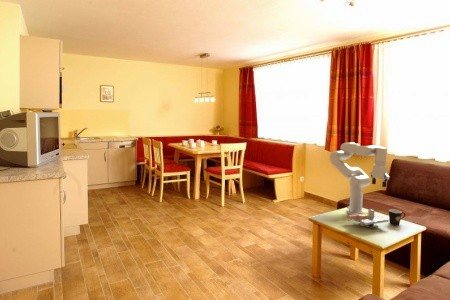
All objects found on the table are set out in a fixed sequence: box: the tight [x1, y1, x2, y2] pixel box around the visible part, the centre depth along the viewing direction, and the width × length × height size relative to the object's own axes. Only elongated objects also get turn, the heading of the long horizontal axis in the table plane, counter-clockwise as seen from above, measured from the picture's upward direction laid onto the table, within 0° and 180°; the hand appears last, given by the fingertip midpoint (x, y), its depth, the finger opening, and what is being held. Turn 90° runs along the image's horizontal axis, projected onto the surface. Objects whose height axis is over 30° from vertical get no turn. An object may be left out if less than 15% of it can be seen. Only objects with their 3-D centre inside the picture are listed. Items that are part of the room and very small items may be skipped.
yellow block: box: [359, 214, 369, 227], centre depth 219 cm, size 3×7×8 cm, turn 109°
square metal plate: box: [346, 208, 389, 229], centre depth 220 cm, size 18×21×12 cm
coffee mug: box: [388, 208, 406, 227], centre depth 224 cm, size 12×9×10 cm
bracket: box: [348, 213, 361, 221], centre depth 216 cm, size 6×8×3 cm
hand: (378, 185), depth 228 cm, fingers open, 9 cm apart
